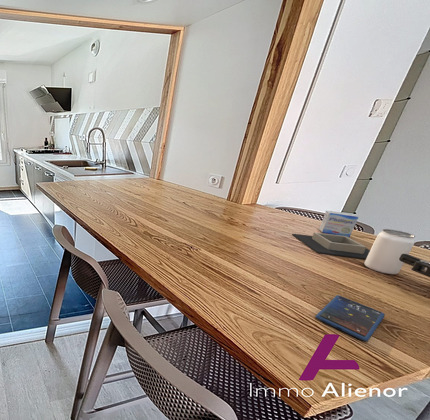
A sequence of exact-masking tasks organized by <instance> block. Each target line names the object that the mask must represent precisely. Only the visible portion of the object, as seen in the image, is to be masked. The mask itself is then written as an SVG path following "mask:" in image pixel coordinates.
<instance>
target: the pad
mask: <svg viewBox="0 0 430 420" xmlns="http://www.w3.org/2000/svg"><path fill="white" fill-rule="evenodd" d="M291 236H293V237H294V238H295V239H297V240H298V241H299V242H301V243H303V244H304V245H305V246H307V247H308V248H309V249H311V250H312V251H313V252H314V253H316V254H319V255H326V256H327V255H328V256H335V257H342V258H349V259H350V258H351V259H358V260H364V261H365V260H366V258H367V256H368V254H369V252H370V250H371V249H368V248H367V246H366V245H363V244H362V243H360V242H358V241H357V240H354V239H352V238H350V237H347V236H341V235H332V234H326V233H322V232H313V235H309V234H300V233H299V234H298V233H292V234H291Z"/></svg>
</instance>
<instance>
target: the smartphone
mask: <svg viewBox="0 0 430 420" xmlns="http://www.w3.org/2000/svg"><path fill="white" fill-rule="evenodd" d="M385 315H386V314H385V313H384V312H383V311H380V310H377V309H375V308H373V307H370V306H367V305H364V304H362V303H359V302H357V301H355V300H353V299H349V298H347V297H345V296H341V295H339V294H336V295H335V296H334V297H333V298H332V299H331V300H330V301H329V302H328V303H327V304H326V305H325V306H324V307H323V308H322V309H321V310H320V311H319V312H318V313H317V314H316V315H315V319H317V320H319V321H321V322H323V323H325V324H326V325H329V326H332V327H333V328H335V329H337V330H340V331H342V332H344V333H346V334H347V335H349V336H352V337H354V338H357V339H359V340H361V341H363V342H368V341H369V340H370V339H371V337H372V335H373V334H374V333H375V332H376V330H377V328H378V326H379V325H380V324H381V323H382V321H383V320H384V318H385Z"/></svg>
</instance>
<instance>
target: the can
mask: <svg viewBox="0 0 430 420" xmlns="http://www.w3.org/2000/svg"><path fill="white" fill-rule="evenodd" d="M415 238H416V235H414V234H413V233H409V232H406V231H403V230H397V229H390V228H384V229H382V230H381V231H380V232H379V233H378V234H377V236H376V238H375V240H374V241H373V244H372V246H371V247H370V249H369V250H370V252H369V254H368V256H367V258H366V260H364V263H363V264H364V267H366V268H367V269H369V270H372V271H374V272H377V273H381V274H385V275H392V276H393V275H397V274H399V273H400V272H401V269H402V268H403V266H404V264H405V263H404V262H401V261H400V260H399V258H400V256H401V254H408V255H410V253H411V251H412V249H413V248H414V246H415V243H416V240H415Z"/></svg>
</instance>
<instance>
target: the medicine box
mask: <svg viewBox="0 0 430 420" xmlns="http://www.w3.org/2000/svg"><path fill="white" fill-rule="evenodd" d="M358 219H359V217H358V215H357V214H354V213H348V212H340V211H332V210H325V213H324V214H323V217H322V220H321V223H320V225H319V228H318V230H319V231H320V233H323V234H332V235H341V236H347V237H349V238H350V237H351V235H352V233H353V230H354V228H355V226H356V224H357V222H358Z"/></svg>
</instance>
